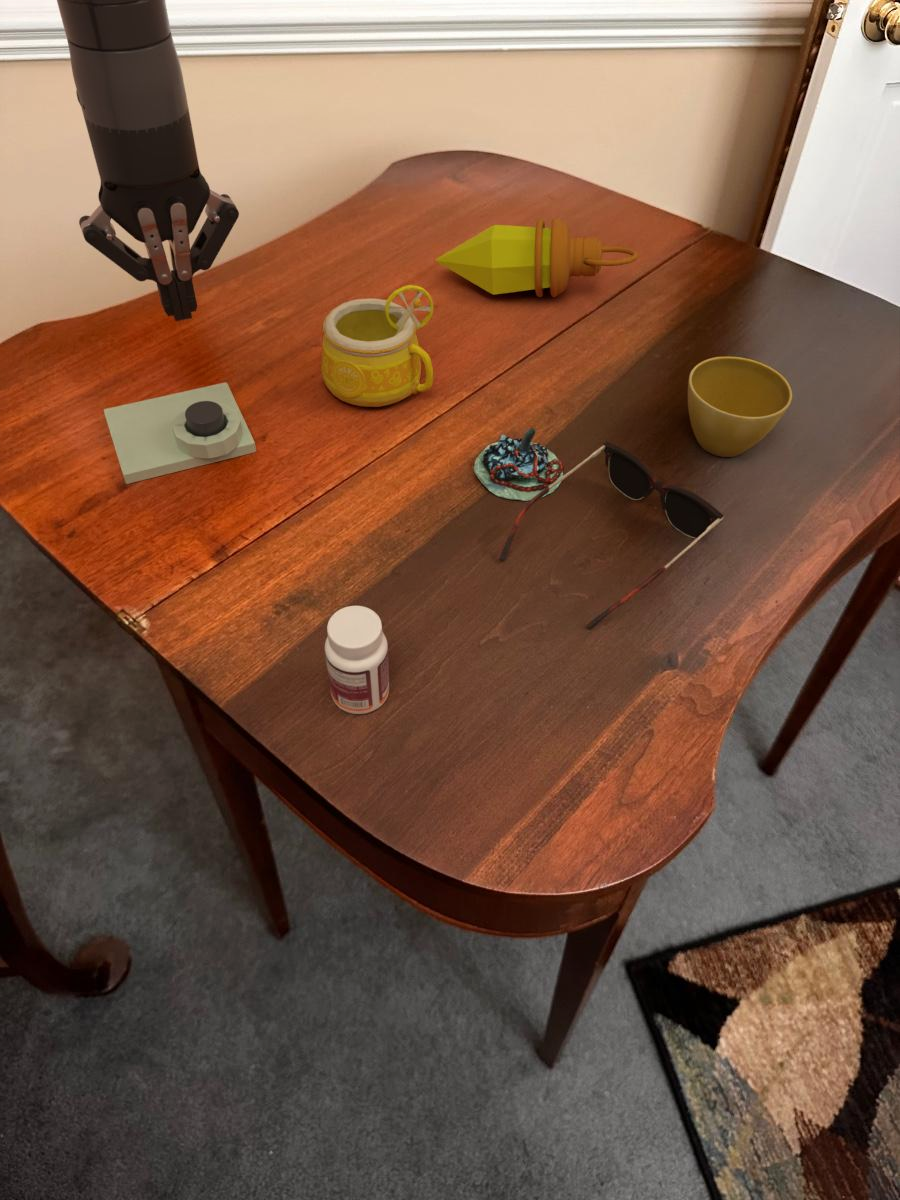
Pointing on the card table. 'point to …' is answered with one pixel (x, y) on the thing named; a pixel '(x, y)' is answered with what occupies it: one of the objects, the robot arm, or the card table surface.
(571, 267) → the plumb bob
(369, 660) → the pill bottle
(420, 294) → the mug
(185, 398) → the scale
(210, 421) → the button
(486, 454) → the dish
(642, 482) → the sunglasses
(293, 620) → the card table surface
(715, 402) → the flower pot
